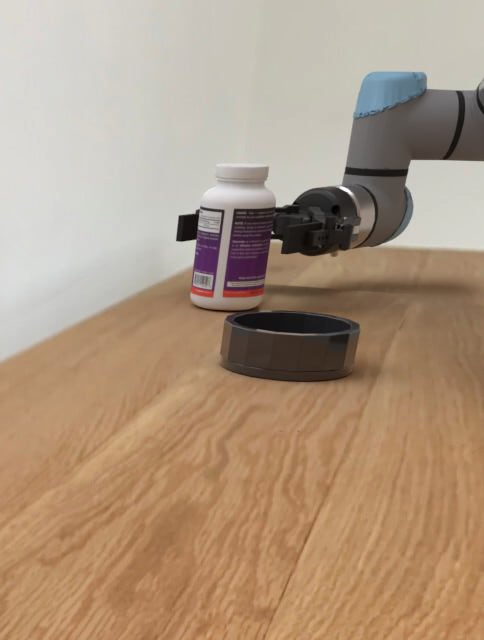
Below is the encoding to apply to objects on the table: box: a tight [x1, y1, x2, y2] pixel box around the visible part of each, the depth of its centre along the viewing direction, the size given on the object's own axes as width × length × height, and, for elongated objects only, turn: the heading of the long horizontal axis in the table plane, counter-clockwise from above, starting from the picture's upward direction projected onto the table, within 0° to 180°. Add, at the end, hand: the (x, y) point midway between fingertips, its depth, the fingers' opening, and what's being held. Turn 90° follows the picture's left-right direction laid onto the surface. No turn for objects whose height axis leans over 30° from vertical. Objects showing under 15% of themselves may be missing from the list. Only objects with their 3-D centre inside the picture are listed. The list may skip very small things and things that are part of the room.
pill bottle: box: [189, 162, 277, 311], centre depth 123 cm, size 8×8×14 cm
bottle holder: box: [219, 309, 361, 382], centre depth 100 cm, size 12×12×4 cm
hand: (230, 234), depth 122 cm, fingers open, 13 cm apart
